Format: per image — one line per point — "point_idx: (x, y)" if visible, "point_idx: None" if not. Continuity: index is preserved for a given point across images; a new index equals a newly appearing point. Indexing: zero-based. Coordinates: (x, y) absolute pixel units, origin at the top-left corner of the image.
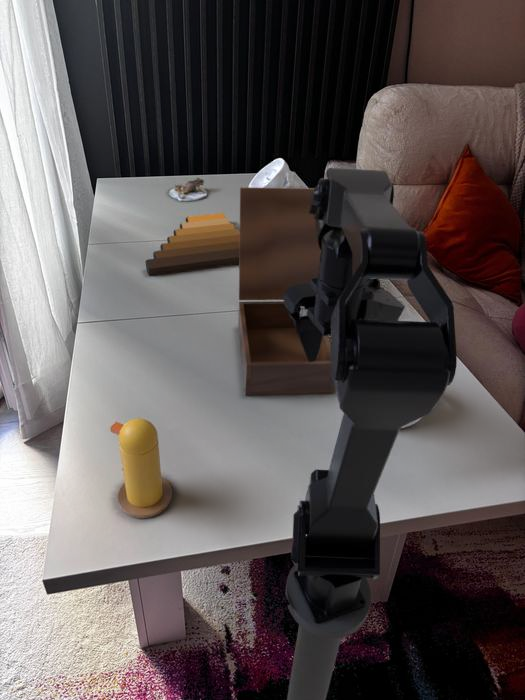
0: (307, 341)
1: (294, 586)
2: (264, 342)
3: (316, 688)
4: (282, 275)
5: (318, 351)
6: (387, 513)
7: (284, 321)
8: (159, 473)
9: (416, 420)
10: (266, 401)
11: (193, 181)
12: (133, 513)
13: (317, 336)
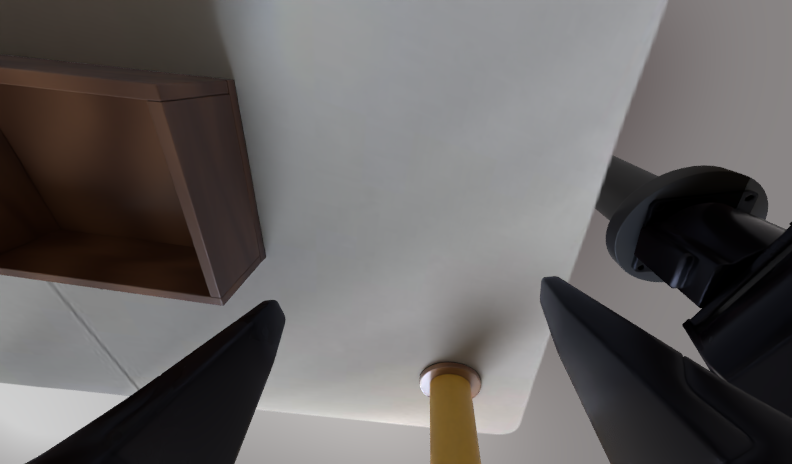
0: (231, 431)
1: (650, 272)
2: (91, 197)
3: None
4: None
5: (248, 330)
6: (626, 77)
7: None
8: (463, 418)
9: None
10: (277, 228)
11: None
12: (474, 395)
13: (186, 419)
